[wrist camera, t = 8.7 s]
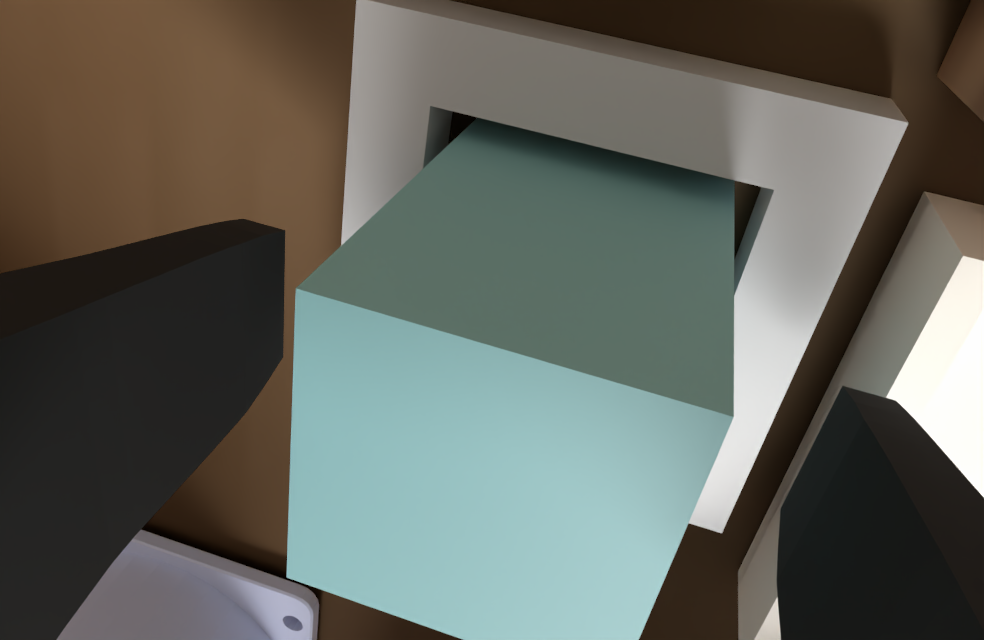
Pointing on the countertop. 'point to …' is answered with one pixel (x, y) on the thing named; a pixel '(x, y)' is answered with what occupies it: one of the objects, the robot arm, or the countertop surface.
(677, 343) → the light teal rectangular block
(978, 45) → the bar
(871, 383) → the tray
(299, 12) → the countertop surface
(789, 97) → the socket block
